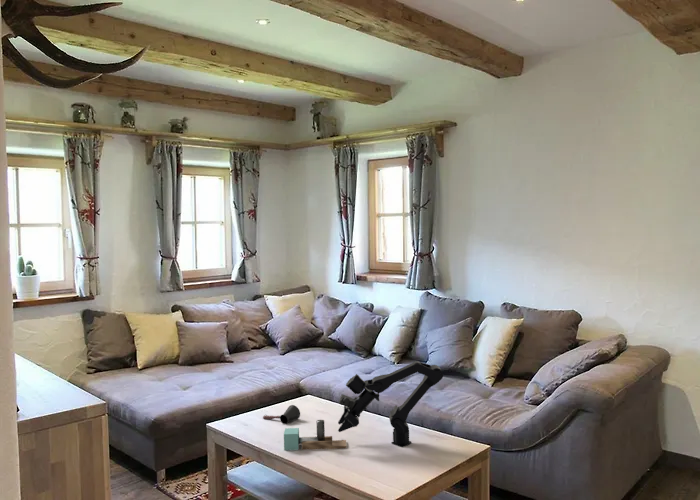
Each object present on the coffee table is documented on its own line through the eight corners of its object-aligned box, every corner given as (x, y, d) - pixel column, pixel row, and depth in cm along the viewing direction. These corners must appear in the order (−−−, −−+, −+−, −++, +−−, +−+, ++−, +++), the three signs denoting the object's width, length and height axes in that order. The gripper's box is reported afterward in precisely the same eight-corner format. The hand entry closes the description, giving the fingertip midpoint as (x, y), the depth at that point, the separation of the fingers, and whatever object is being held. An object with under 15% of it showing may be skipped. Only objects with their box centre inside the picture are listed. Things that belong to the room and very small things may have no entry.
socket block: (299, 443, 253) (298, 427, 253) (298, 449, 246) (297, 433, 246) (285, 444, 253) (285, 428, 252) (284, 450, 246) (283, 434, 245)
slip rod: (324, 441, 251) (324, 419, 251) (324, 444, 248) (324, 422, 247) (291, 442, 251) (290, 420, 251) (290, 445, 248) (289, 423, 247)
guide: (346, 442, 253) (345, 435, 253) (346, 448, 246) (346, 441, 246) (302, 443, 253) (302, 436, 253) (301, 449, 246) (301, 442, 246)
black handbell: (302, 419, 284) (291, 427, 277) (274, 417, 294) (263, 425, 287) (298, 404, 283) (288, 412, 276) (271, 404, 293) (260, 411, 286)
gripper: (348, 382, 258) (325, 408, 258) (349, 395, 239) (324, 422, 240) (367, 399, 259) (343, 424, 259) (369, 412, 240) (344, 440, 240)
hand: (338, 427), depth 249 cm, fingers open, 9 cm apart
